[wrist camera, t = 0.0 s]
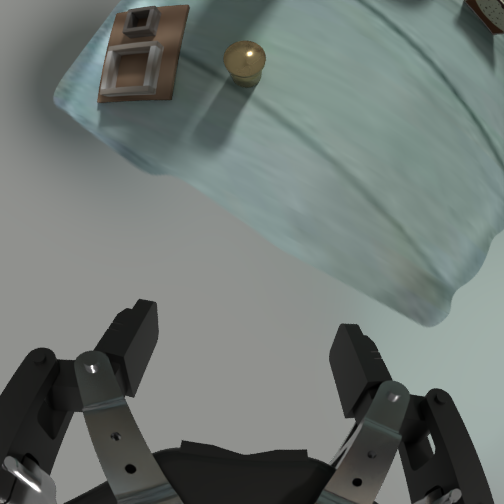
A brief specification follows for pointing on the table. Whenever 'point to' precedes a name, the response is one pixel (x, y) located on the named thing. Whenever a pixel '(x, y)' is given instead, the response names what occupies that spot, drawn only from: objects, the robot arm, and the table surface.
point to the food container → (489, 13)
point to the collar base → (143, 54)
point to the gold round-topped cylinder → (245, 62)
